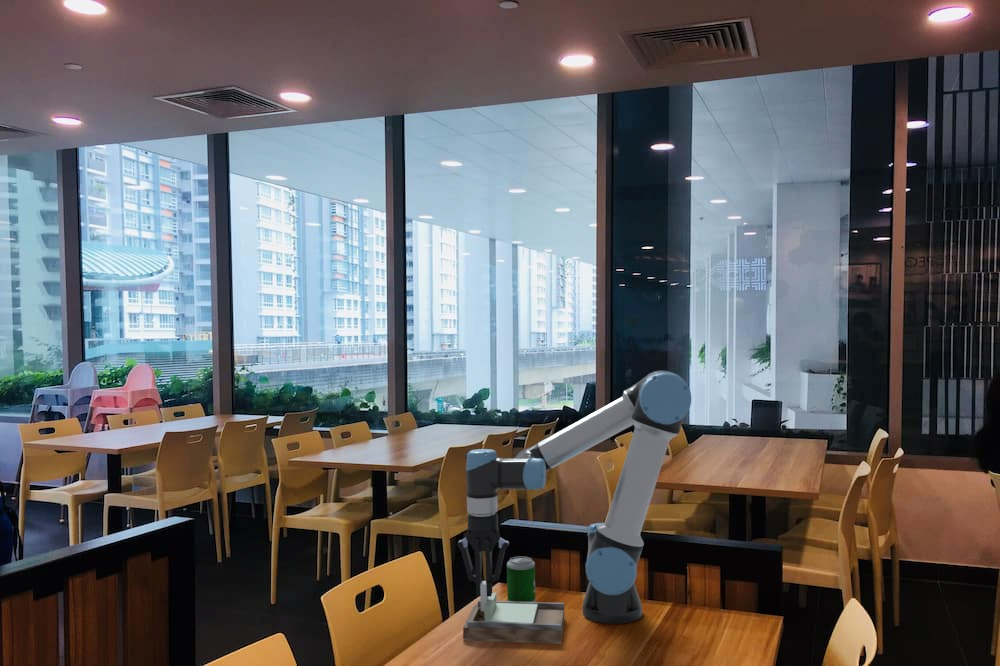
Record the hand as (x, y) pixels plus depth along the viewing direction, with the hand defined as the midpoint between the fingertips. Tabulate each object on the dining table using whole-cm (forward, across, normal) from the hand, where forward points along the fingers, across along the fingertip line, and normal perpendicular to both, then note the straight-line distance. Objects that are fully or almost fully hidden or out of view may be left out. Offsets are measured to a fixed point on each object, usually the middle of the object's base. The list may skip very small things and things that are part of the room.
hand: (484, 609), depth 189 cm
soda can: (+5, -7, -18) cm, 20 cm away
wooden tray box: (+5, -8, 0) cm, 9 cm away
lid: (+1, -7, 0) cm, 7 cm away
